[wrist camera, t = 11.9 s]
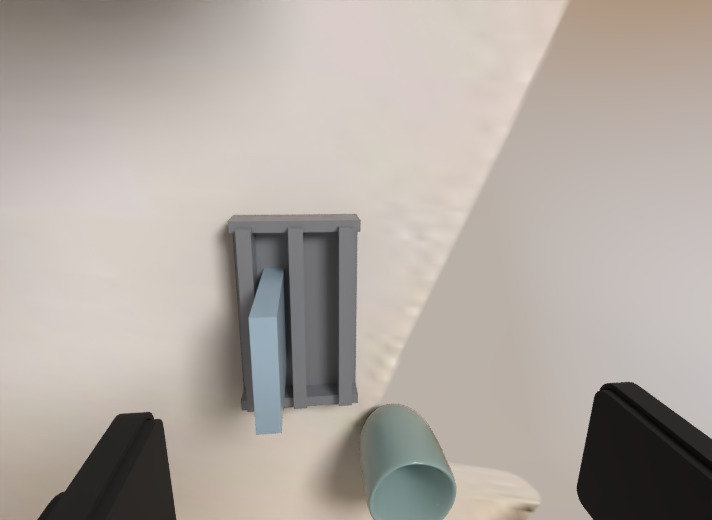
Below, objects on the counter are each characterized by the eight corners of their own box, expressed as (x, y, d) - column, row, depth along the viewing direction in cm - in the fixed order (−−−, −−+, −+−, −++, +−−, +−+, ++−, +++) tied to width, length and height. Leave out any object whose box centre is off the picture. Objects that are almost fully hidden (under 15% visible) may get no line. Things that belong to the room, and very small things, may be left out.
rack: (233, 215, 37) (225, 223, 33) (356, 214, 38) (362, 222, 34) (245, 391, 42) (240, 416, 38) (354, 385, 43) (359, 409, 39)
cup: (436, 404, 45) (472, 474, 35) (406, 460, 47) (433, 543, 37) (372, 383, 43) (391, 451, 34) (343, 443, 45) (354, 524, 35)
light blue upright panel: (263, 268, 37) (248, 318, 27) (284, 268, 38) (276, 317, 27) (268, 357, 40) (256, 434, 29) (287, 356, 40) (281, 432, 30)
